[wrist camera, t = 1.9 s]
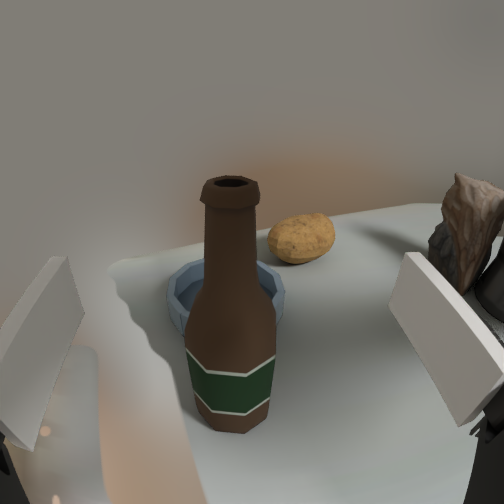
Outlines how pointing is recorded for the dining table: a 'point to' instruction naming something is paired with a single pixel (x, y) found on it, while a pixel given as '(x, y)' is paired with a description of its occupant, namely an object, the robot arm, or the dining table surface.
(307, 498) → the dining table surface
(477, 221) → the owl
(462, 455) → the dining table surface
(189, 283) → the bowl
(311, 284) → the dining table surface
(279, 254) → the potato
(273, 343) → the beer bottle
